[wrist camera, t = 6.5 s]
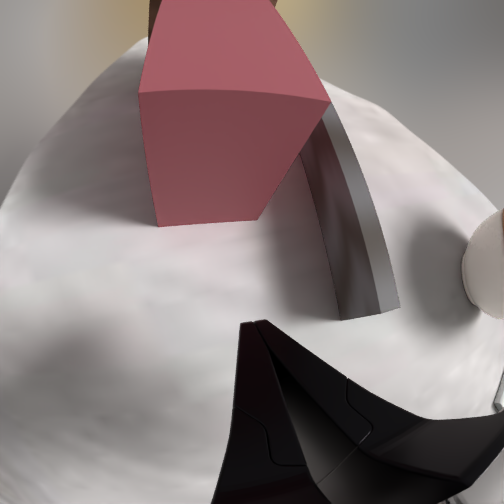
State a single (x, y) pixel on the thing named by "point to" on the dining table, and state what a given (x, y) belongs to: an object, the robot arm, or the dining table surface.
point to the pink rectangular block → (223, 108)
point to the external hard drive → (500, 396)
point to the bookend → (343, 216)
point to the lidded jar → (486, 266)
